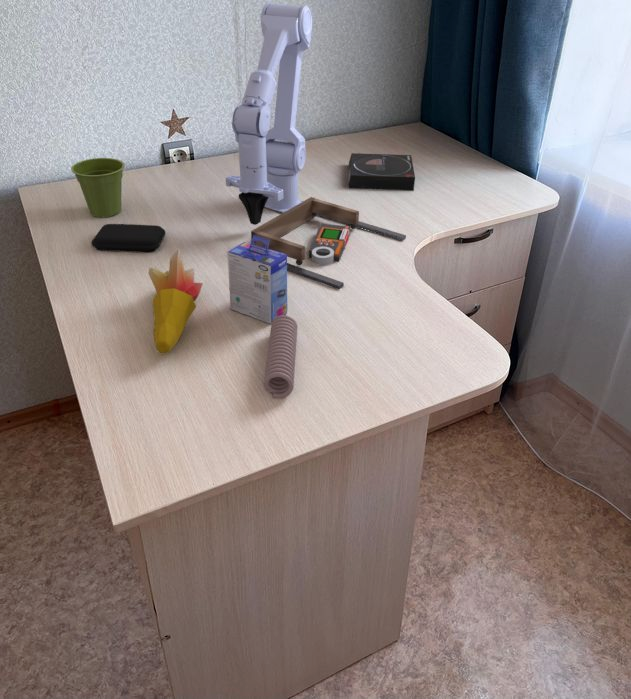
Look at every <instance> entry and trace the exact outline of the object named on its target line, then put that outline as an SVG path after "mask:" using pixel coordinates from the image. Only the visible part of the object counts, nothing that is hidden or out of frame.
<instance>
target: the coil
mask: <svg viewBox="0 0 631 699" xmlns="http://www.w3.org/2000/svg"><path fill="white" fill-rule="evenodd" d="M298 329H299V328H298V323H297V321H296V320H295V319H294V318H293V317H292V316H289V315H286V314H285V315H280V316H277V317H275V318H274V319H273V321H272V323H271V324H270V330H269V331H270V332H269V340H268V347H267V348H268V349H267V357H266V362H265V363H266V365H265V372H264V381H263V385H264V388H265V390H266V391H267V392H269V393H270V394H272V399H283V398H286V397H288V396H289V395H291V394H292V392H293V391H294V385H295V384H294V383H295V370H296V369H295V367H296V353H297V342H298Z"/></svg>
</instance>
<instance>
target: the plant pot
mask: <svg viewBox="0 0 631 699" xmlns="http://www.w3.org/2000/svg"><path fill="white" fill-rule="evenodd" d="M124 168H125V163H124V162H123V161H122V160H120V159H117V158H111V157H93V158H88V159H84V160H80V161H78V162H76V163H75V164H73V165H72V166H71V168H70V171H71V172H72V173H73V174H74V176H75V178H76V180H77V182H78V183H79V186H80V188H81V191H82V194H83V197H84V199H85V203H86V205H87V207H88V208H87V209H88V210H89V213H90V215H92V216H93V217H94V216H95V217H96V218H111V217H114V215H119V214H120V213H121V211H122V189H123V188H122V183H123V182H122V181H123V180H122V179H123V176H124V175H123V173H124V172H123V171H124Z"/></svg>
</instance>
